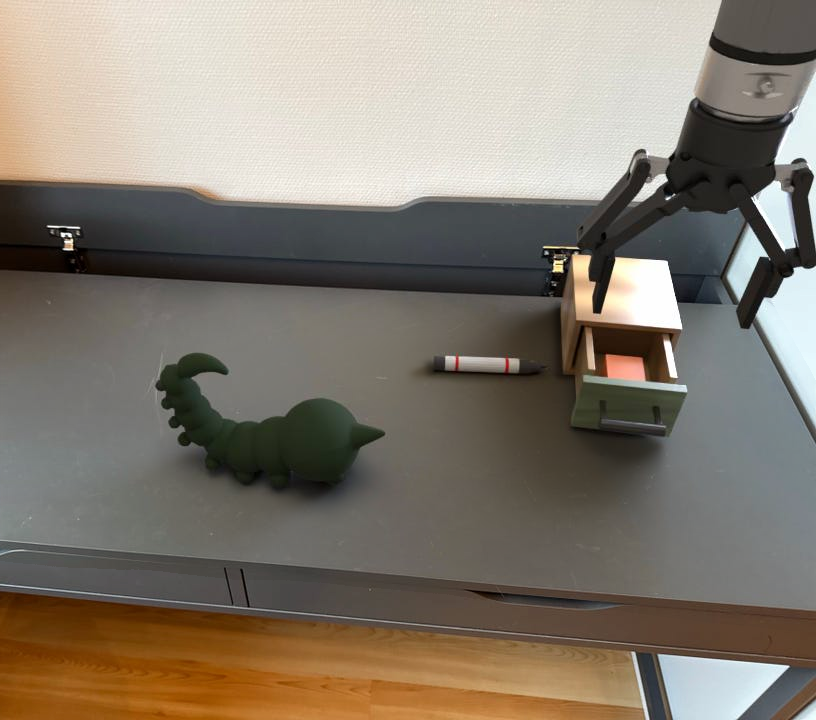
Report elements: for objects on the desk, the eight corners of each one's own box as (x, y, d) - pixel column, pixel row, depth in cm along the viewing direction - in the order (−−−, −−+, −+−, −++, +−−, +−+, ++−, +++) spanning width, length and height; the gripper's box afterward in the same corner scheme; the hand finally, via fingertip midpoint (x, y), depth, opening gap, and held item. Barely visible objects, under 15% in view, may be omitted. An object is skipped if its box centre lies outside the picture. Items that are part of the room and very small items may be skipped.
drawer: (673, 465, 82) (693, 420, 77) (572, 452, 84) (585, 408, 79) (655, 361, 95) (671, 317, 89) (568, 353, 97) (578, 309, 91)
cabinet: (661, 384, 93) (682, 329, 86) (562, 374, 95) (575, 319, 89) (649, 314, 103) (667, 260, 97) (560, 307, 106) (571, 253, 99)
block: (634, 382, 91) (642, 357, 88) (637, 407, 88) (646, 382, 85) (598, 378, 91) (605, 353, 88) (600, 403, 88) (607, 378, 85)
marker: (433, 373, 97) (434, 362, 95) (433, 363, 98) (434, 352, 97) (547, 377, 95) (550, 366, 94) (546, 367, 96) (548, 356, 95)
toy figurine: (183, 494, 86) (385, 513, 80) (132, 384, 73) (367, 396, 67) (209, 436, 92) (397, 449, 86) (166, 326, 80) (382, 332, 74)
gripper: (578, 115, 55) (537, 322, 70) (942, 133, 50) (816, 352, 65) (576, 78, 60) (539, 278, 75) (905, 91, 55) (797, 302, 70)
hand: (667, 312), depth 70 cm, fingers open, 13 cm apart
